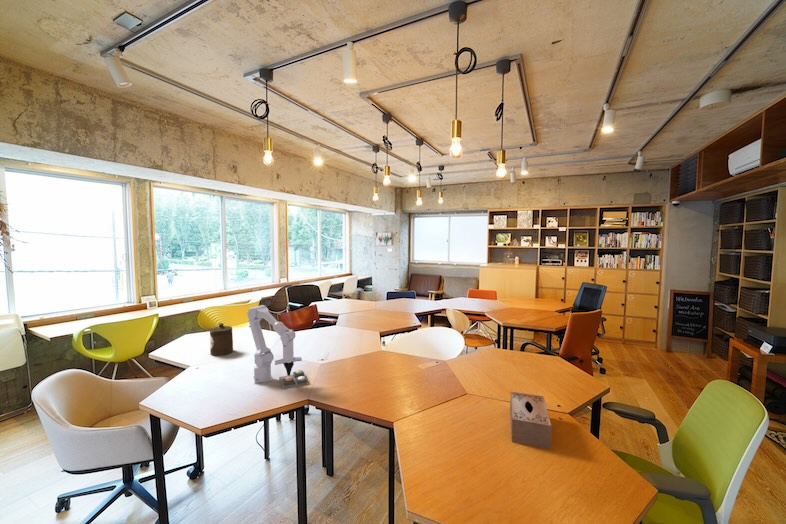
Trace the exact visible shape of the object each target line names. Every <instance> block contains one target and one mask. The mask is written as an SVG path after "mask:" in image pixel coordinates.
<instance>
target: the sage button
mask: <svg viewBox="0 0 786 524" xmlns="http://www.w3.org/2000/svg"><path fill="white" fill-rule="evenodd" d="M302 371H303V370H302V369H297V370H295V371H294V372H295V374H296V375H299V374H302Z"/></svg>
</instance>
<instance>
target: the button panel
mask: <svg viewBox="0 0 786 524" xmlns="http://www.w3.org/2000/svg"><path fill="white" fill-rule="evenodd" d="M305 374H306V373H305V372H304V370H302V374H299V375H296V374H295V371H292V374H290V375H289V376H290V377H292V381H289V382H286V381H285V378H286V377H289V376H287V375H283V376H278V379H279V383H280V386H281V389H282V390H283V389H285V390H286V389H289V388H294V387H295V388H296V387H300V386H306V385H308V384H309V382H308V378H307V376H306V375H305ZM300 376H304V377H305V380H299V381H298V377H300Z"/></svg>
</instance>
